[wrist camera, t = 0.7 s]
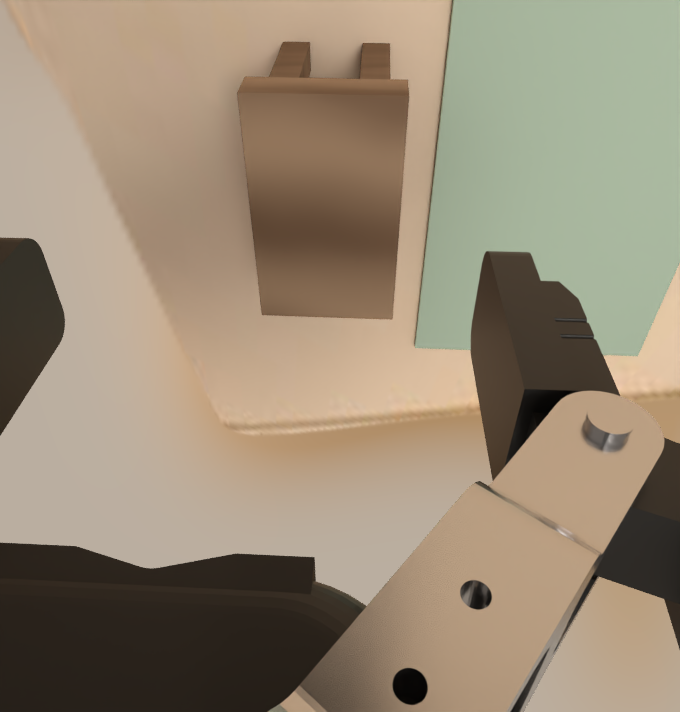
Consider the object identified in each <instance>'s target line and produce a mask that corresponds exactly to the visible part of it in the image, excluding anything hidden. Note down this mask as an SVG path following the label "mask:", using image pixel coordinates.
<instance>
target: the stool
mask: <svg viewBox="0 0 680 712" xmlns="http://www.w3.org/2000/svg"><path fill="white" fill-rule="evenodd" d="M310 71H311V64H310V42H283V44H282V46H281V49H280V51H279V54H278V56H277V59H276V61H275V64H274V66H273V69H272V71H271V74H270V76H269V77H245V78H244V80H243V82H242V84H241V86H240V88H239V90H238V92H237V95H238V104H239V113H240V122H241V131H242V140H243V149H244V158H245V167H246V176H247V185H248V194H249V203H250V212H251V221H252V230H253V239H254V248H255V257H256V266H257V275H258V284H259V293H260V302H261V311H262V315H279V316H307V317H336V318H365V319H392V318H393V304H394V291H395V277H396V264H397V251H398V237H399V224H400V210H401V197H402V184H403V170H404V157H405V143H406V130H407V117H408V103H409V88H408V80H392V79H390V44H381V43H363V49H362V60H361V71H360V79H340V78H309V75H310Z"/></svg>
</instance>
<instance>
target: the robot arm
mask: <svg viewBox="0 0 680 712" xmlns="http://www.w3.org/2000/svg"><path fill="white" fill-rule="evenodd" d="M64 327H65V319H64V312H63V308H62V305H61V302H60V300H59V297H58V294H57V291H56V288H55V286H54V283H53V280H52V277H51V274H50V272H49V269H48V266H47V263H46V260H45V258H44V255H43V252H42V250H41V248H40V246H39V245H38V243H37V242H36V241H34V240H33V239H29V238H0V435H1V434H2V432H3V430H4V429H5V427H6V426H7V424H8V423H9V421H10V420H11V418H12V417H13V415H14V413H15V412H16V410H17V409H18V407H19V406H20V404H21V403H22V401H23V400H24V398H25V396H26V395H27V393H28V392H29V390H30V389H31V387H32V385H33V384H34V382H35V381H36V379H37V378H38V376H39V375H40V373H41V372H42V370H43V369H44V367H45V365H46V364H47V362H48V361H49V359H50V358H51V356H52V355H53V353H54V351H55V350H56V348H57V347H58V345H59V344H60V342H61V340H62V337H63V333H64ZM471 358H472V364H473V369H474V375H475V381H476V387H477V393H478V398H479V404H480V410H481V416H482V421H483V427H484V432H485V438H486V445H487V450H488V456H489V461H490V468H491V474H492V479H493V482H492V483H491V484H490V485H488V486H487V485H486V484H484V483H482V482H480V481H479V482H475V483H474V484H472V485H471V486H470V487H469V488H468V489H467V490H466V491H465V492H464V493H463V494H462V495H461V496H460V498H459V499H458V500H457V501H456V502H455V504H454V505H453V506H452V507H451V508H450V509H449V511H448V512H447V513H446V514H445V515H444V516H443V518H442V519H441V520H440V521H439V522H438V523H437V525H436V526H435V527H434V528H433V529H432V531H431V532H430V533H429V534H428V535H427V537H425V539H424V540H423V541H422V542H421V543H420V545H419V546H418V547H417V548H416V549H415V550H414V552H413V553H412V554H411V555H410V556H409V557H408V559H407V560H406V561H405V562H404V563H403V564H402V566H401V567H400V568H399V569H398V570H397V572H396V573H395V574H394V575H393V576H392V577H391V578H390V580H389V581H388V582H387V583H386V584H385V585H384V587H383V588H382V589H381V590H380V591H379V593H378V594H377V595H376V596H375V597H374V598H373V600H372V601H371V602H370V603H369V604H368V605H367V606H366V605H364V604H363V603H361V602H359V601H358V600H356V599H355V598H353V597H351V596H349V595H348V594H346V593H344V592H342V591H340V590H337V589H335V588H333V587H331V586H327V585H325V584H321V583H318V582H316V579H315V560H314V557H295V556H274V555H273V556H272V555H252V554H232V555H226V556H221V557H216V558H210V559H205V560H199V561H194V562H189V563H183V564H178V565H172V566H167V567H161V568H154V569H149V568H143V567H139V566H135V565H133V564H130V563H127V562H123V561H120V560H117V559H114V558H111V557H108V556H105V555H101V554H98V553H95V552H92V551H89V550H86V549H83V548H80V547H76V546H59V545H37V544H16V543H0V712H524V710H525V708H526V706H527V705H528V703H529V701H530V699H531V697H532V695H533V693H534V691H535V690H536V688H537V686H538V684H539V682H540V680H541V678H542V676H543V675H544V673H545V671H546V669H547V667H548V666H549V664H550V662H551V660H552V658H553V657H554V655H555V653H556V652H557V650H558V648H559V646H560V645H561V643H562V641H563V639H564V638H565V636H566V634H567V632H568V631H569V629H570V627H571V625H572V624H573V622H574V620H575V618H576V616H577V615H578V613H579V611H580V610H581V608H582V606H583V604H584V603H585V601H586V599H587V597H588V596H589V594H590V592H591V590H592V588H593V587H594V585H595V583H596V581H597V579H598V578H599V577H602V578H605V579H608V580H611V581H614V582H616V583H619V584H623V585H626V586H628V587H631V588H634V589H637V590H640V591H643V592H646V593H649V594H652V595H655V596H657V597H660V598H663V599H664V600H665V603H666V606H667V609H668V613H669V616H670V619H671V623H672V626H673V629H674V632H675V635H676V638H677V642H678V645H679V648H680V444H679V443H676V442H673V441H671V440H669V439H666V438H664V435H663V432H662V430H661V427H660V426H659V424H658V423H657V421H656V420H655V419H654V418H653V417H652V416H651V415H650V414H649V413H648V412H647V411H646V410H645V409H643V408H642V407H640V406H639V405H637V404H636V403H634V402H632V401H630V400H628V399H626V398H624V397H621V396H620V394H619V392H618V389H617V387H616V385H615V382H614V380H613V378H612V375H611V373H610V371H609V368H608V366H607V364H606V361H605V359H604V357H603V354H602V352H601V350H600V348H599V345H598V343H597V341H596V339H594V334H593V331H592V329H591V327H590V324H589V323H587V317H586V315H585V313H584V310H583V308H582V306H581V303H580V301H579V299H578V298H577V297H576V296H575V295H574V294H573V293H571V292H570V291H569V290H568V289H567V288H566V287H565V286H564V285H562V284H561V283H560V282H559V281H541V280H540V277H539V274H538V272H537V269H536V266H535V263H534V260H533V258H532V255H531V254H530V253H529V252H505V251H486V252H485V254H484V257H483V261H482V266H481V272H480V278H479V284H478V290H477V296H476V301H475V307H474V313H473V319H472V326H471Z"/></svg>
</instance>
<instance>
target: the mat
mask: <svg viewBox="0 0 680 712" xmlns="http://www.w3.org/2000/svg"><path fill="white" fill-rule="evenodd" d="M486 251H505V252H529V253H530V254H531V255H532V258H533V260H534V263H535V266H536V269H537V272H538V274H539V277H540V280H541V281H559V282H560V283H561V284H562V285H564V286H565V287H566V288H567V289H568V290H569V291H570V292H571V293H573V294H574V295H575V296H576V297H577V298H578V299H579V301H580V303H581V306H582V308H583V310H584V313H585V315H586V317H587V323H589V324H590V327H591V329H592V331H593V334H594V339H596V341H597V343H598V345H599V348H600V350H601V352H602V354H603V355H620V356H638V354H639V352H640V350H641V348H642V345H643V343H644V341H645V339H646V337H647V334H648V332H649V330H650V328H651V325H652V323H653V321H654V319H655V317H656V314H657V312H658V310H659V308H660V305H661V303H662V301H663V299H664V296H665V294H666V292H667V290H668V288H669V285H670V283H671V281H672V279H673V276H674V274H675V272H676V270H677V268H678V265H679V263H680V0H453V4H452V13H451V22H450V31H449V40H448V50H447V59H446V68H445V77H444V86H443V95H442V104H441V113H440V122H439V131H438V140H437V149H436V158H435V167H434V176H433V185H432V194H431V203H430V212H429V221H428V230H427V239H426V248H425V257H424V266H423V275H422V284H421V293H420V302H419V311H418V320H417V329H416V338H415V348H430V349H457V350H471V326H472V319H473V313H474V307H475V301H476V296H477V290H478V284H479V278H480V272H481V266H482V261H483V257H484V254H485V252H486Z"/></svg>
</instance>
